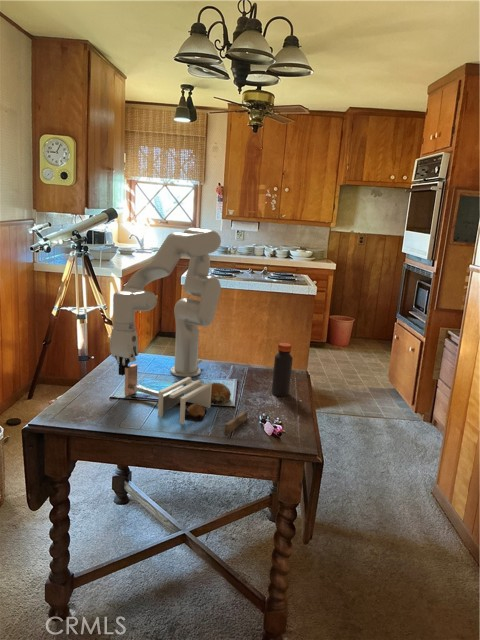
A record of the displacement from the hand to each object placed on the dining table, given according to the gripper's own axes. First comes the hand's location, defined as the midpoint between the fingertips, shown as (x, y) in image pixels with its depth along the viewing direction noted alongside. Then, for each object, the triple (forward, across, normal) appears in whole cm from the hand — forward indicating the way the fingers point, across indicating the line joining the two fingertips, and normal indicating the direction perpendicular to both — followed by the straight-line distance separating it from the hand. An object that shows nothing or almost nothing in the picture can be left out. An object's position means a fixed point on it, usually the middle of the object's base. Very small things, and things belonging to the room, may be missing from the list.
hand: (123, 374), depth 174 cm
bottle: (+7, -48, -36) cm, 60 cm away
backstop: (+7, -47, -1) cm, 48 cm away
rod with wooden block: (+7, -13, 0) cm, 15 cm away
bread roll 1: (+8, -32, 0) cm, 32 cm away
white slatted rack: (+7, -28, 0) cm, 29 cm away
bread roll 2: (+8, -31, -16) cm, 36 cm away
